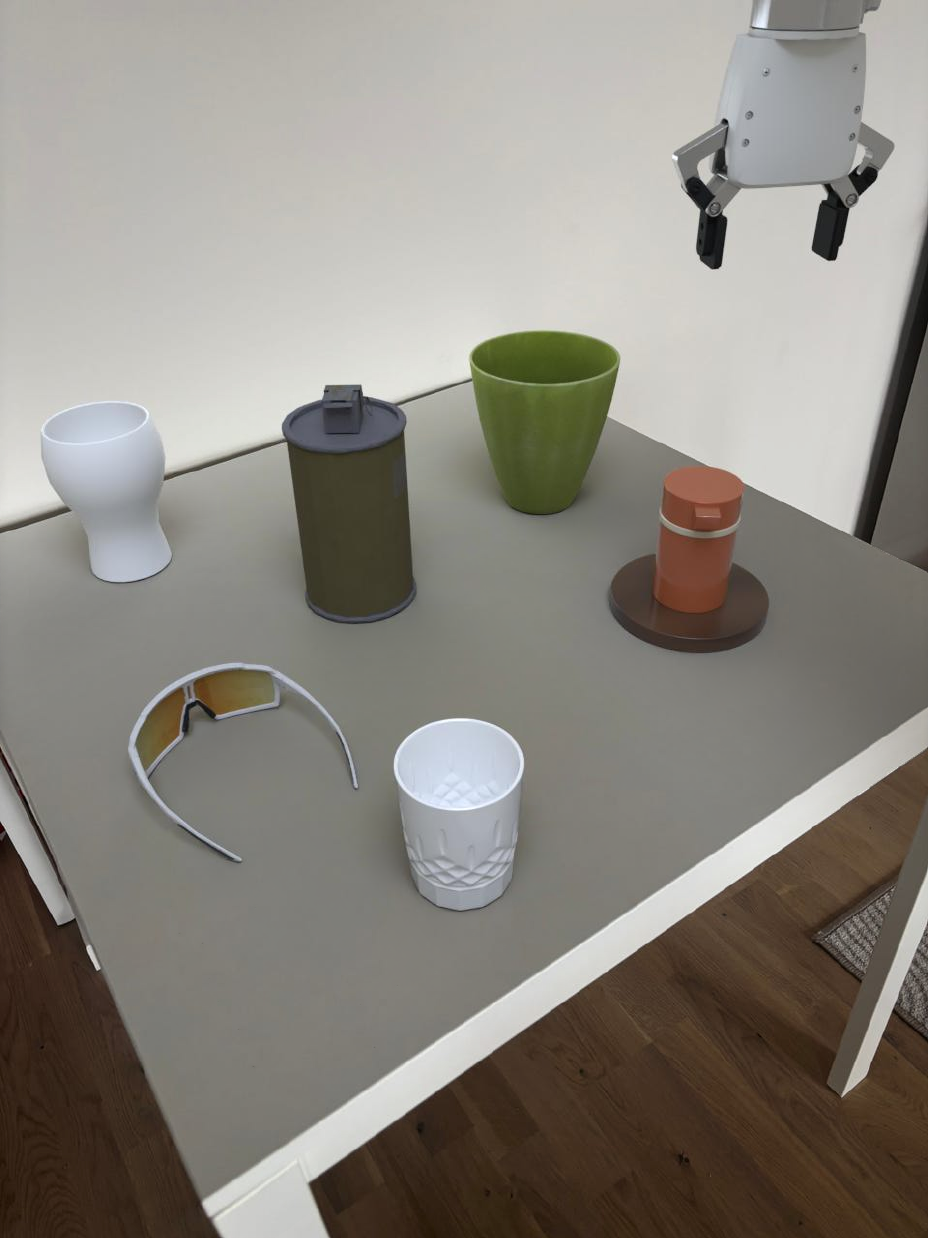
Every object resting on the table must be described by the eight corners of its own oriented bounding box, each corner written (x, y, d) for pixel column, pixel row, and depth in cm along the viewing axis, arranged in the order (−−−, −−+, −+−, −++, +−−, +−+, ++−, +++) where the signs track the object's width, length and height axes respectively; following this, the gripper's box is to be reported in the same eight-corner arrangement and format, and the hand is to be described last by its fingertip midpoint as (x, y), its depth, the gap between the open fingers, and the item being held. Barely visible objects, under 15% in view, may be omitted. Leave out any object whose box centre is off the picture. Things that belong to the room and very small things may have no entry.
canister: (413, 623, 87) (400, 415, 75) (297, 624, 87) (266, 417, 76) (419, 558, 96) (408, 363, 84) (314, 560, 96) (289, 365, 84)
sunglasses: (266, 679, 81) (262, 636, 77) (380, 792, 73) (381, 749, 70) (107, 763, 73) (96, 718, 70) (215, 899, 65) (208, 856, 62)
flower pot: (533, 454, 114) (536, 319, 105) (637, 495, 105) (650, 352, 96) (443, 500, 105) (438, 357, 96) (548, 548, 97) (553, 397, 87)
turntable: (800, 623, 86) (803, 609, 85) (672, 671, 81) (674, 657, 80) (699, 550, 96) (700, 537, 95) (580, 589, 91) (580, 576, 90)
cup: (193, 578, 94) (161, 435, 85) (78, 601, 91) (33, 455, 82) (180, 526, 102) (150, 391, 93) (74, 546, 99) (33, 408, 90)
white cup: (386, 847, 66) (375, 739, 60) (491, 811, 69) (491, 704, 63) (429, 937, 60) (421, 826, 54) (542, 894, 63) (546, 784, 57)
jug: (648, 558, 92) (659, 452, 86) (721, 561, 92) (737, 455, 85) (653, 622, 84) (665, 511, 77) (733, 626, 83) (753, 514, 77)
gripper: (893, 2, 72) (845, 241, 82) (670, 11, 70) (649, 254, 80) (949, 10, 66) (890, 266, 76) (708, 20, 64) (679, 281, 74)
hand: (766, 260), depth 78 cm, fingers open, 9 cm apart
